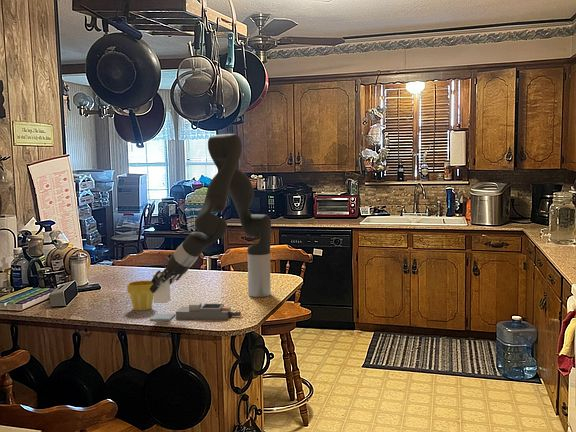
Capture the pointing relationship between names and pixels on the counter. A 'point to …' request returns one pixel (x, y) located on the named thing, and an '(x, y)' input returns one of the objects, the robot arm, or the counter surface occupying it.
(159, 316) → the pad
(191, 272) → the counter surface
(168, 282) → the block
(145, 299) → the plant pot
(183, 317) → the power strip
